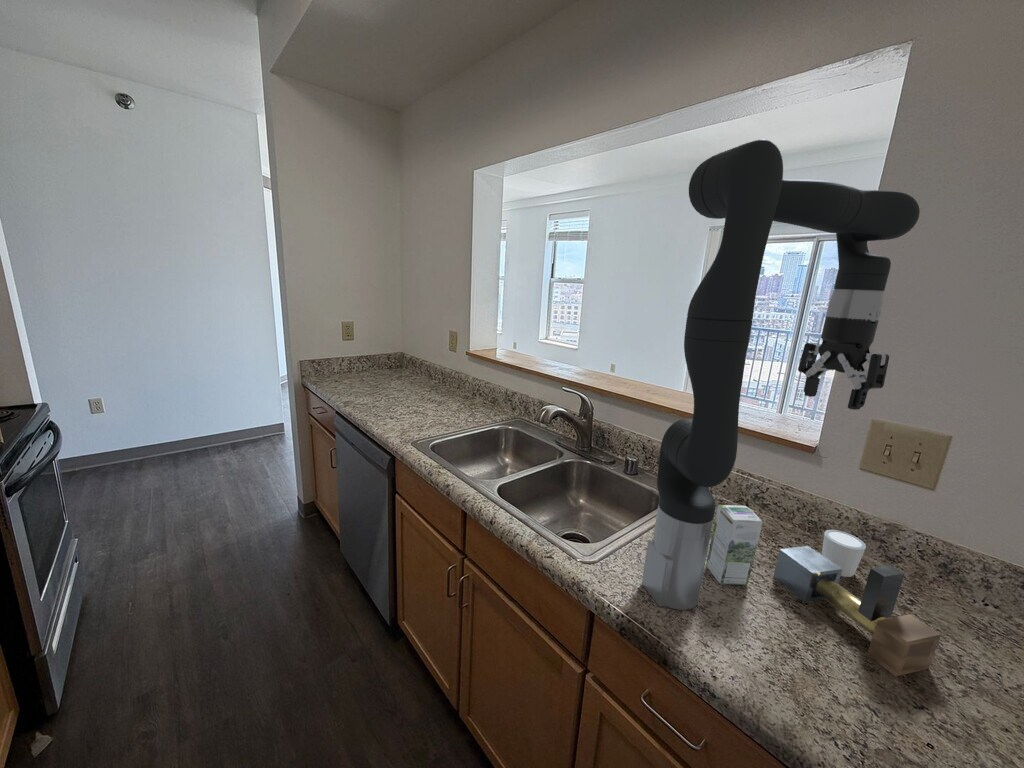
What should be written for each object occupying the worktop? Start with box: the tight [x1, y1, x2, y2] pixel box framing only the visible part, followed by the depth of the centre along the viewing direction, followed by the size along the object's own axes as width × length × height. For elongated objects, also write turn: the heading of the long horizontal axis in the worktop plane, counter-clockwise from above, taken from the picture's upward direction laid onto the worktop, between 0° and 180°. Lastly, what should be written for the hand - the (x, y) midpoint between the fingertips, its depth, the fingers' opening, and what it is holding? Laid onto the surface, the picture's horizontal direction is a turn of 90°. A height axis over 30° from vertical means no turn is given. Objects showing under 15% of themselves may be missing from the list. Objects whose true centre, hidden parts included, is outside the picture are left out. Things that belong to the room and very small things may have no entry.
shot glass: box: [821, 529, 867, 578], centre depth 86 cm, size 7×7×7 cm
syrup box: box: [705, 504, 764, 586], centre depth 80 cm, size 6×6×14 cm
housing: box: [773, 545, 842, 604], centre depth 79 cm, size 7×7×6 cm
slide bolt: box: [816, 564, 906, 636], centre depth 69 cm, size 13×4×12 cm, turn 14°
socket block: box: [866, 614, 942, 677], centre depth 64 cm, size 4×7×6 cm, turn 104°
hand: (830, 402), depth 78 cm, fingers open, 8 cm apart
